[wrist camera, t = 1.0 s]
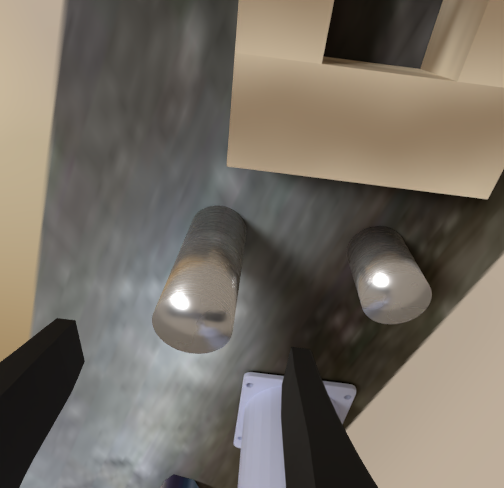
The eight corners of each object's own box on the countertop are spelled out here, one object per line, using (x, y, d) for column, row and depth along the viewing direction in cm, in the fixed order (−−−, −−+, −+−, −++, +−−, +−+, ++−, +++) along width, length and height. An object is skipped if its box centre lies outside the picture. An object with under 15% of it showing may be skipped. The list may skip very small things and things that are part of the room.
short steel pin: (393, 275, 20) (417, 327, 16) (340, 268, 20) (353, 320, 16) (412, 229, 18) (442, 277, 15) (354, 222, 18) (372, 269, 15)
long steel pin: (243, 256, 20) (229, 357, 14) (190, 250, 20) (154, 348, 14) (249, 209, 18) (235, 301, 12) (191, 202, 18) (150, 290, 12)
